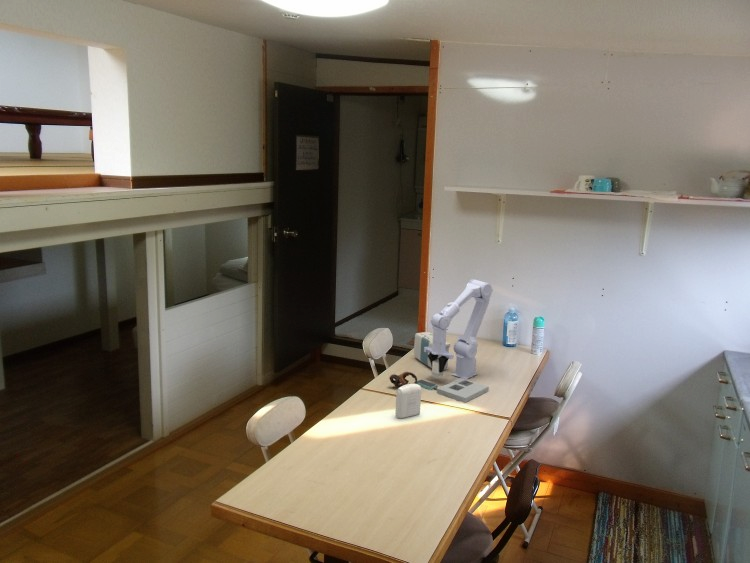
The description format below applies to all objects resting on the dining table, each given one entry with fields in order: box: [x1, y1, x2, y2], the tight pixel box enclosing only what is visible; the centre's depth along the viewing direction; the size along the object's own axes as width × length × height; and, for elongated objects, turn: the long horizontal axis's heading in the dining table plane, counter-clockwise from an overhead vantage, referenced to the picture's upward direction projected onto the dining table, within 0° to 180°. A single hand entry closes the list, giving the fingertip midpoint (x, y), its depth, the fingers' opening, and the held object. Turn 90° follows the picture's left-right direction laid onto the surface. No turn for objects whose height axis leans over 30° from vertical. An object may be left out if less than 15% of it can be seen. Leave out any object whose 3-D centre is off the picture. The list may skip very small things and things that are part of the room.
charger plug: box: [431, 359, 444, 378], centre depth 270 cm, size 4×3×6 cm
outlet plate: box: [436, 377, 490, 404], centre depth 260 cm, size 18×14×2 cm
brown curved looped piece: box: [388, 371, 418, 388], centre depth 261 cm, size 12×10×8 cm
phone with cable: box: [417, 378, 439, 391], centre depth 265 cm, size 12×4×1 cm, turn 49°
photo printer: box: [395, 383, 422, 419], centre depth 235 cm, size 10×4×12 cm, turn 123°
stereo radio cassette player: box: [413, 328, 451, 371], centre depth 291 cm, size 21×8×20 cm, turn 25°
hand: (437, 370), depth 271 cm, fingers closed on charger plug, 3 cm apart
